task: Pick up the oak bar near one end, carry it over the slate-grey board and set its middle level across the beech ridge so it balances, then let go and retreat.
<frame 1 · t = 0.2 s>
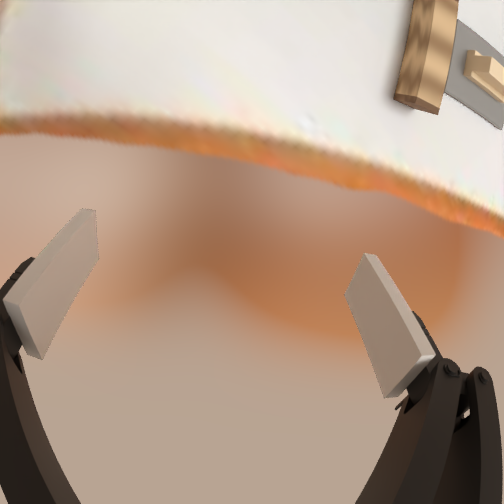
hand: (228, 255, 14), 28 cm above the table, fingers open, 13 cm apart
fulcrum: (480, 76, 30), on the table
oak bar: (417, 46, 29), on the table
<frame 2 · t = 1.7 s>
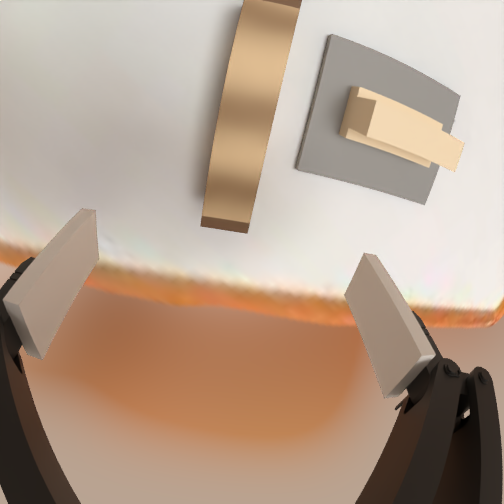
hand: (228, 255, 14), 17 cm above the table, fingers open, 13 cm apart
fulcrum: (385, 124, 26), on the table
oak bar: (245, 105, 25), on the table
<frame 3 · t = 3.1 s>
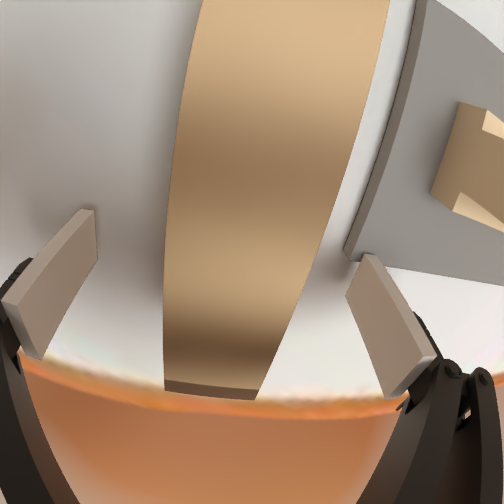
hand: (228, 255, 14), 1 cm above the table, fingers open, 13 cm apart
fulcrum: (488, 172, 12), on the table
oak bar: (250, 127, 12), on the table
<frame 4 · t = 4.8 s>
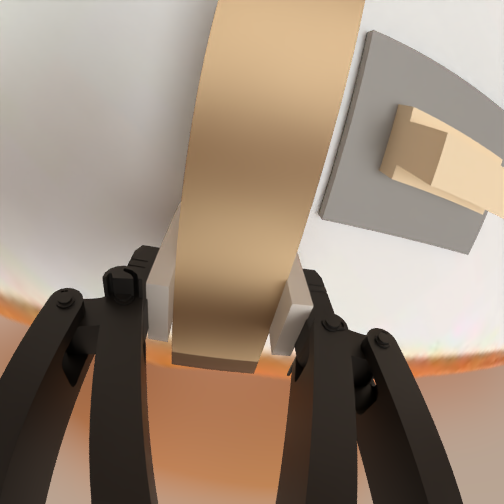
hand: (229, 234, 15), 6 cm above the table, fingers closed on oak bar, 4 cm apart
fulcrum: (434, 156, 19), on the table
oak bar: (249, 128, 13), point 5 cm above the table, touching gripper
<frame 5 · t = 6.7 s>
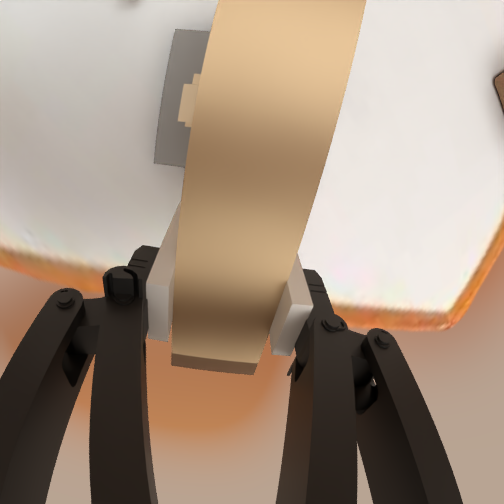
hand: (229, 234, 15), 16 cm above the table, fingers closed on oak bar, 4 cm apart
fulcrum: (244, 106, 26), on the table
oak bar: (249, 130, 13), point 15 cm above the table, touching gripper
when the fingers open (7 cm above the table, at t = 8.6 s): oak bar stays where it is, resting on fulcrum.
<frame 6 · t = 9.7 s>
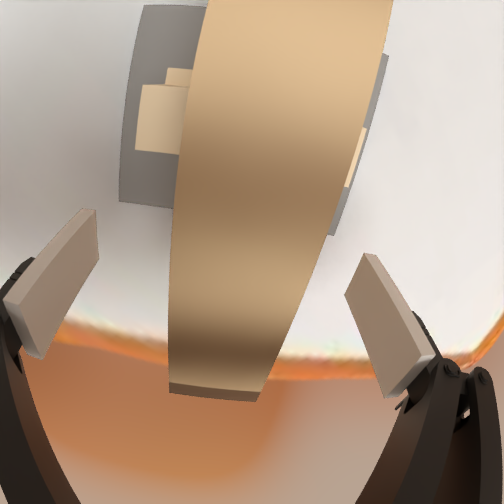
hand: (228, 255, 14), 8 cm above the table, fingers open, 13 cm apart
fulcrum: (247, 116, 18), on the table
oak bar: (251, 137, 12), point 7 cm above the table, touching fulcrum
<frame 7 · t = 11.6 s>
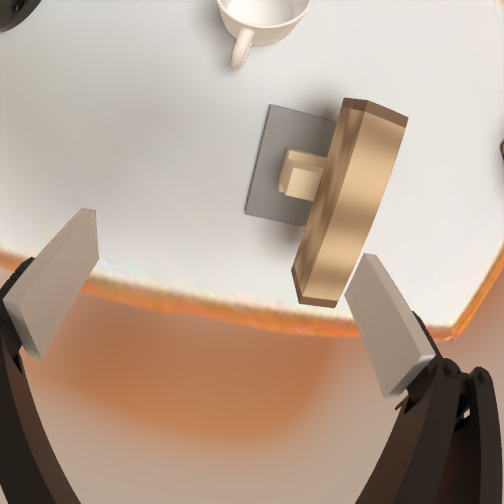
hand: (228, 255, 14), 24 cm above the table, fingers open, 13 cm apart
cup: (253, 29, 26), on the table
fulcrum: (319, 174, 35), on the table
oak bar: (334, 194, 30), point 7 cm above the table, touching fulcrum
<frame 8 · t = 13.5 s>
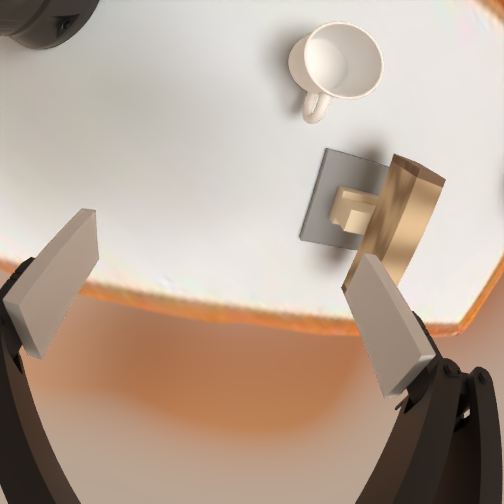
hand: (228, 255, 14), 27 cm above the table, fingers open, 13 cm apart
cup: (314, 77, 32), on the table
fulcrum: (361, 206, 42), on the table
oak bar: (380, 229, 36), point 7 cm above the table, touching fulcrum
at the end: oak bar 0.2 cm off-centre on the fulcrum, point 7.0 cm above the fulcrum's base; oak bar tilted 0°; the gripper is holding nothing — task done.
